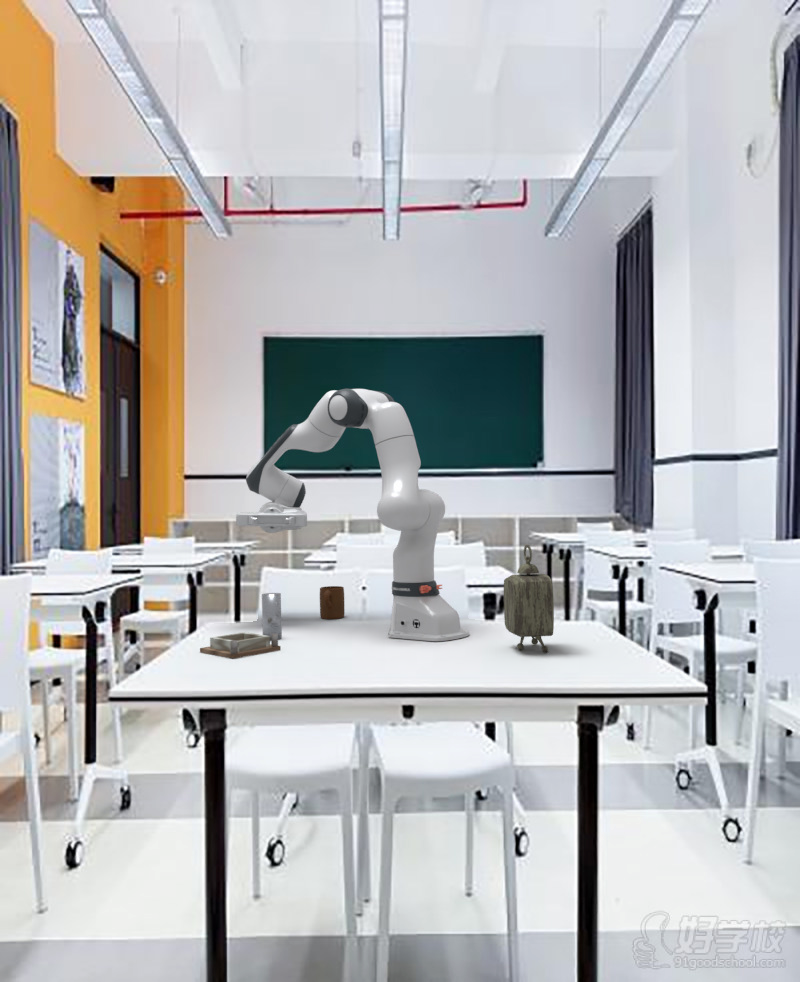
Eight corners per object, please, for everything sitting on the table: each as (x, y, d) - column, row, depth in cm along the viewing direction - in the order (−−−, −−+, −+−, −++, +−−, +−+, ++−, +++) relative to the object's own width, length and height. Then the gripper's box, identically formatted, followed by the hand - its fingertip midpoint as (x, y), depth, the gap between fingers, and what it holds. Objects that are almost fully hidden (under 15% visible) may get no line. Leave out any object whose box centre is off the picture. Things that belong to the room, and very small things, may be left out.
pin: (285, 638, 228) (284, 593, 228) (270, 641, 224) (269, 595, 224) (274, 636, 231) (273, 592, 231) (259, 639, 228) (258, 594, 228)
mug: (338, 621, 256) (338, 590, 256) (314, 621, 257) (313, 590, 257) (346, 615, 268) (346, 585, 268) (323, 616, 269) (322, 586, 269)
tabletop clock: (554, 654, 197) (552, 546, 197) (516, 655, 197) (513, 547, 197) (540, 643, 212) (537, 542, 212) (504, 644, 211) (501, 543, 211)
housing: (280, 650, 211) (280, 633, 211) (233, 658, 201) (232, 641, 201) (246, 644, 220) (246, 628, 220) (200, 652, 210) (199, 635, 210)
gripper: (236, 507, 251) (233, 509, 238) (306, 507, 254) (307, 510, 240) (236, 528, 252) (233, 532, 238) (306, 528, 254) (307, 532, 241)
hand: (271, 521), depth 239 cm, fingers open, 8 cm apart
